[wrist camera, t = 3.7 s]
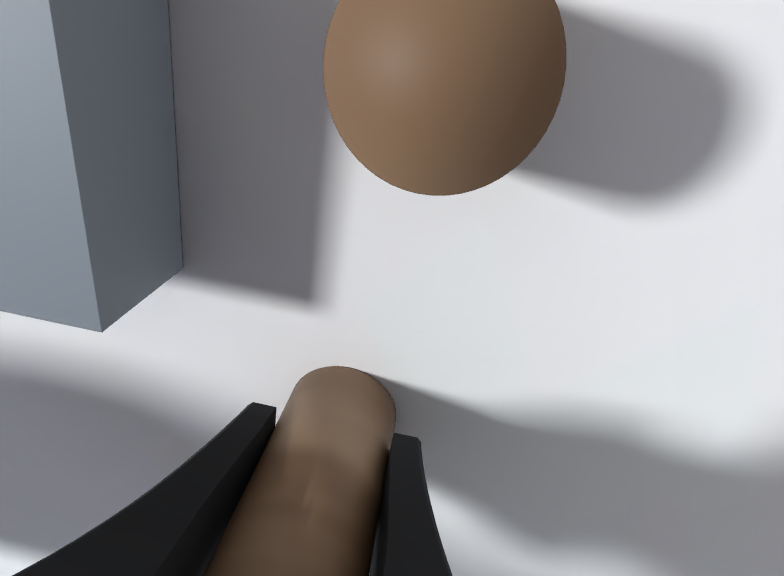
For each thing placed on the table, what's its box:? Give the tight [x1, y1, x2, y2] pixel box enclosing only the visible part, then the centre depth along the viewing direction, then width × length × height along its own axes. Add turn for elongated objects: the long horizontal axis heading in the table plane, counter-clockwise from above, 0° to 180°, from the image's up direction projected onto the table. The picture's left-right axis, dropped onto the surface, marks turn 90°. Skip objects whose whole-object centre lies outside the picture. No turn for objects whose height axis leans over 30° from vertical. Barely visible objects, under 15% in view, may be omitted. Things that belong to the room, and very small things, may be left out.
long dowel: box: [203, 366, 396, 576], centre depth 10 cm, size 3×3×6 cm
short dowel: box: [323, 0, 566, 195], centre depth 7 cm, size 3×3×4 cm
